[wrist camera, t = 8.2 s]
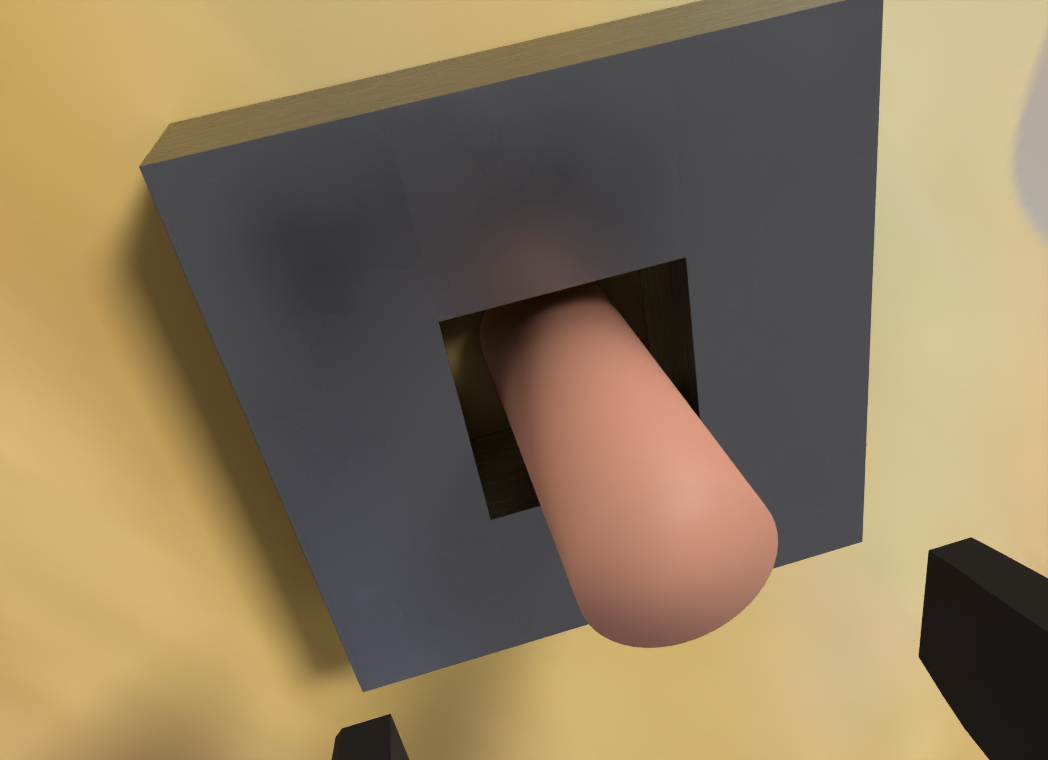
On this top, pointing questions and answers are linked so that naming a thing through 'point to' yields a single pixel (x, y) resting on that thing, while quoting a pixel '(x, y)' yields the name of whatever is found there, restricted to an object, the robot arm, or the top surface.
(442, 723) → the top surface
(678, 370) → the collar block
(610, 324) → the pin
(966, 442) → the top surface
